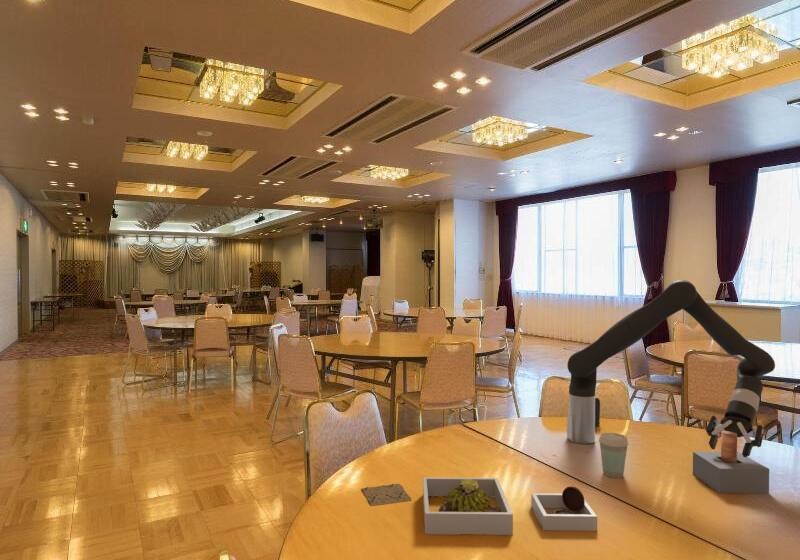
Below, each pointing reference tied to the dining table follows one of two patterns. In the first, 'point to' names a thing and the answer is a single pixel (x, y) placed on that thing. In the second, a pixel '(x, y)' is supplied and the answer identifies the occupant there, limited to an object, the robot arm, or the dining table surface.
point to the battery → (597, 411)
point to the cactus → (467, 499)
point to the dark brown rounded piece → (571, 501)
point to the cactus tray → (466, 520)
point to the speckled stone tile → (385, 494)
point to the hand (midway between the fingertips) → (727, 451)
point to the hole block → (731, 473)
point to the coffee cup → (613, 454)
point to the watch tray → (562, 521)
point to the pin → (729, 447)
